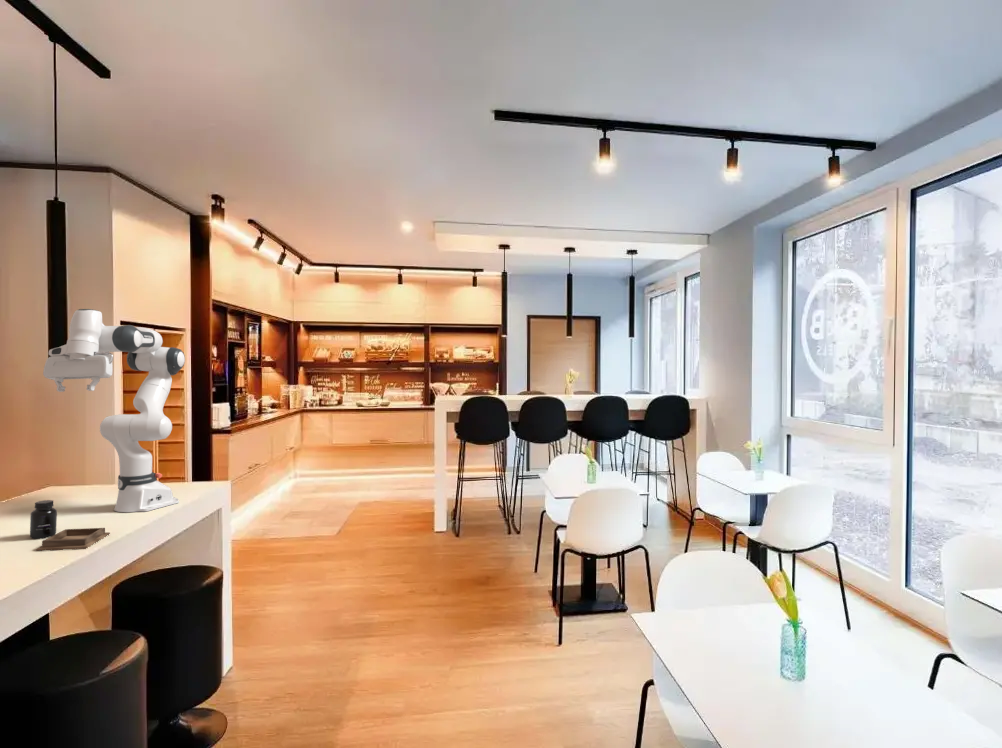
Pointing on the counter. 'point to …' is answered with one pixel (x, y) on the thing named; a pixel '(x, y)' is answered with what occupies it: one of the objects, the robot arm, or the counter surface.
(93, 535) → the walnut tray
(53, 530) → the supplement bottle
